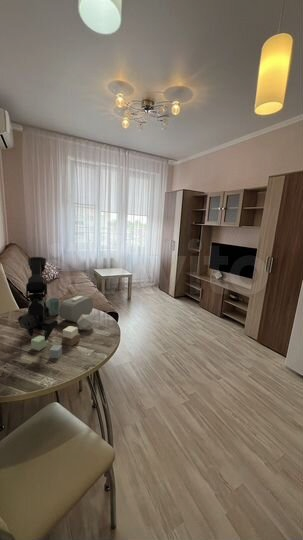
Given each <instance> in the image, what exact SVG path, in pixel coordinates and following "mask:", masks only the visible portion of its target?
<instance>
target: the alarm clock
mask: <svg viewBox="0 0 303 540" xmlns="http://www.w3.org/2000/svg"><path fill="white" fill-rule="evenodd" d="M93 308H94V300H93V298H92V297H90V296H84V295H76V296H73V297H70V298H68V299H66V300H64V301H62V302H61V303H60V308H59V313H58V315H59V318H60V319H62V320H65V321H68V322H73V323H77V321H78V320H79V318H80V317H81V315H91V313H92V311H93Z"/></svg>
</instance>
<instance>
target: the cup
mask: <svg viewBox="0 0 303 540" xmlns="http://www.w3.org/2000/svg"><path fill="white" fill-rule="evenodd" d="M45 302H46V307H47V306H48V308H49V316H51V317H54V316H57V315H59V308H60V305H61V300H60V298H58V297H50V298H47V299H46V300H45Z"/></svg>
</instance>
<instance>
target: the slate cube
mask: <svg viewBox="0 0 303 540" xmlns="http://www.w3.org/2000/svg"><path fill="white" fill-rule="evenodd" d="M48 354H49V359H60V357H61V356H62V354H63V345H62V344H61V345H60V344H58V345H56V344H53V345H52V346H51V347H50V348H49V353H48Z"/></svg>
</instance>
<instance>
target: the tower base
mask: <svg viewBox="0 0 303 540" xmlns="http://www.w3.org/2000/svg"><path fill="white" fill-rule="evenodd" d="M80 335H81V334H80V333H78V334H77V335H76V336H74V337H73V338H72V339H71V338H67V337H63V335H62V336H61V345H65V346H66V345H67V346H70V347H73V346H74V345H75V344H77V343H79V342H80V339H81V337H80Z"/></svg>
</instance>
